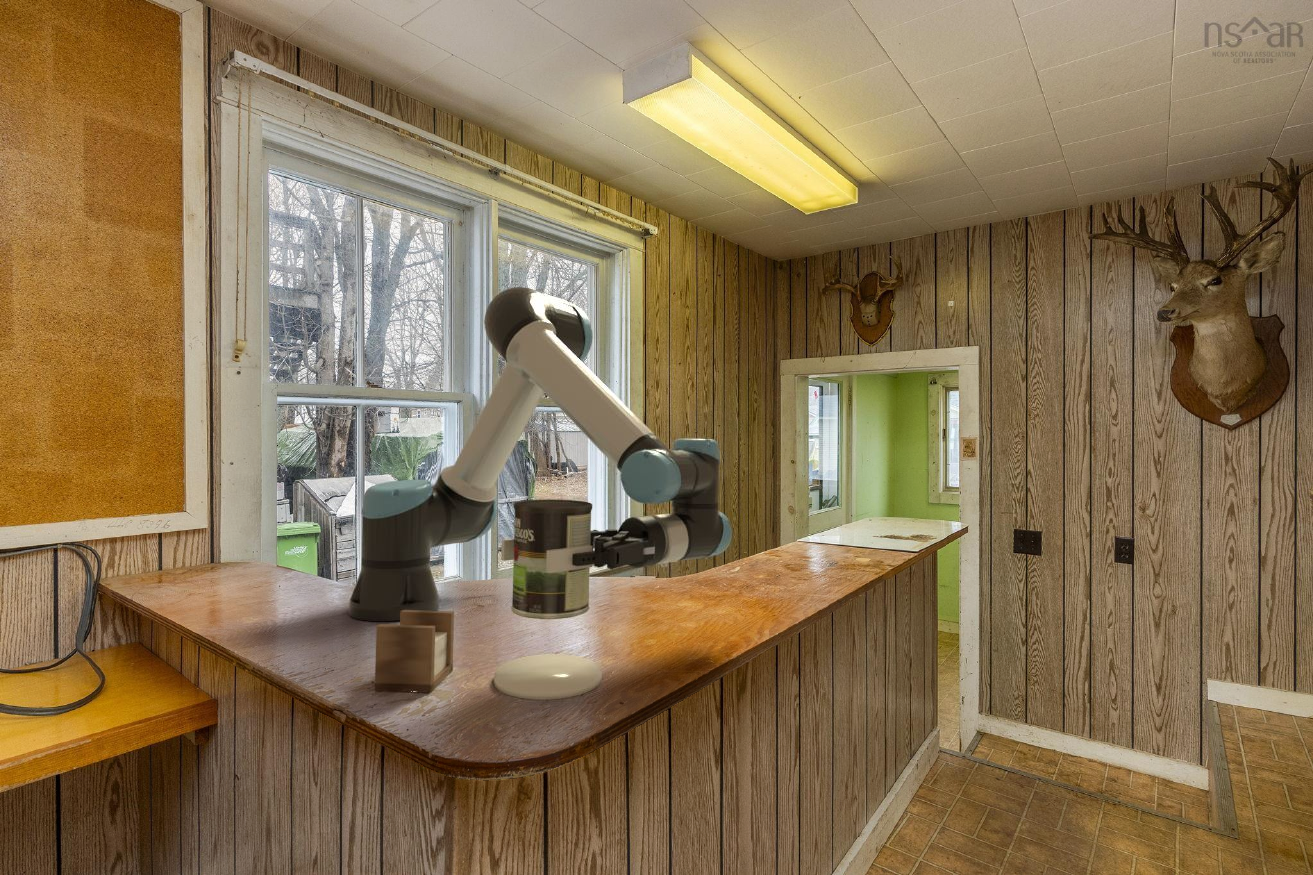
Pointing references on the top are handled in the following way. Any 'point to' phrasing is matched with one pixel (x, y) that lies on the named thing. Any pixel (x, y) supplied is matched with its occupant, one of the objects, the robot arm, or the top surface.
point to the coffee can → (533, 536)
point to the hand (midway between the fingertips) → (524, 555)
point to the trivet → (547, 676)
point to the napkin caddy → (414, 651)
